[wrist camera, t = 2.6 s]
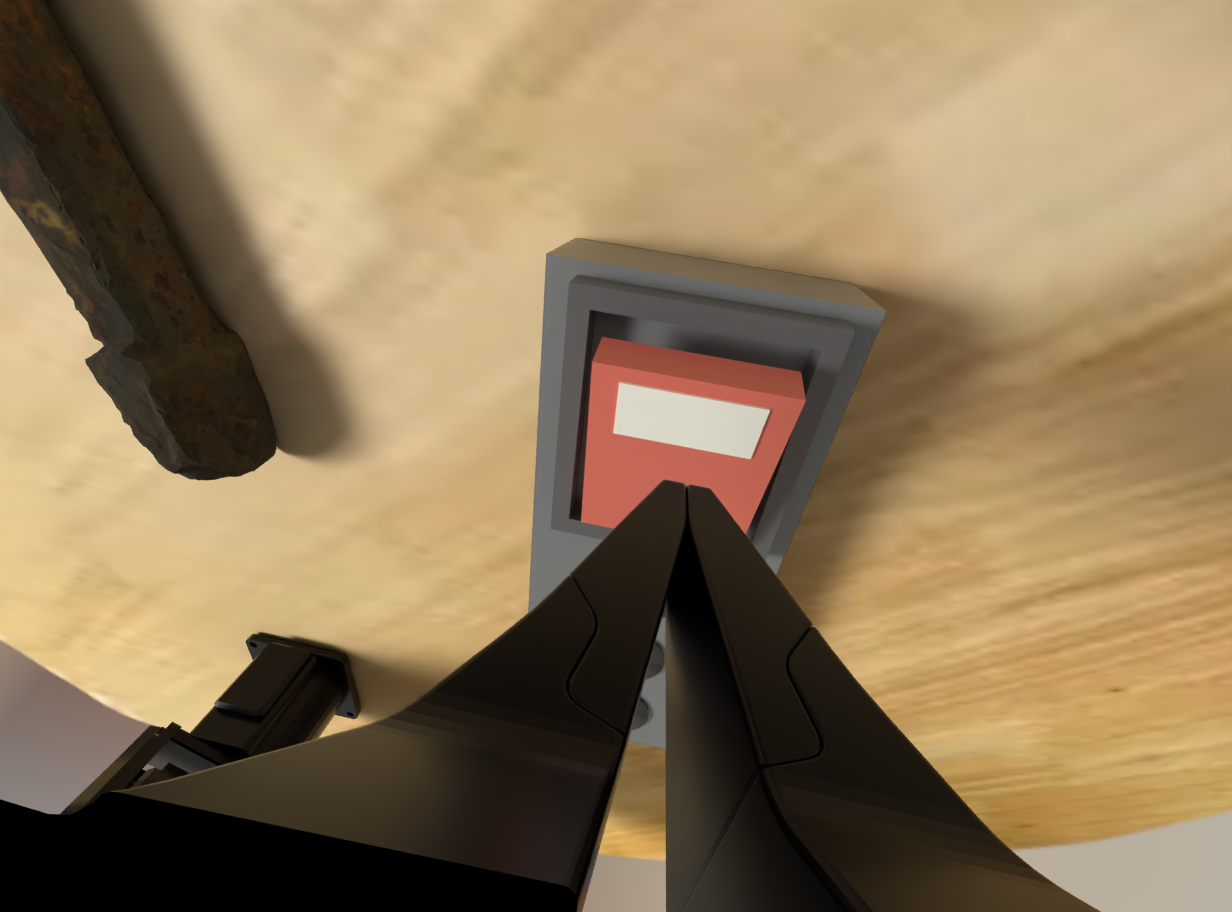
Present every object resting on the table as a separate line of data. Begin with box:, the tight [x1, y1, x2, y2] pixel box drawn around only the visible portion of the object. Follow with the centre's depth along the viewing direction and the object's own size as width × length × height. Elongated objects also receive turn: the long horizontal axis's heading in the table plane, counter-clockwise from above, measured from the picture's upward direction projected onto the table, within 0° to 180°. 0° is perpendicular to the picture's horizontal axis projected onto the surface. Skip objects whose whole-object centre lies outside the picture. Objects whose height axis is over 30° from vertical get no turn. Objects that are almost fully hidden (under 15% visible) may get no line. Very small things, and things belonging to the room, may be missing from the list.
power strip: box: [528, 238, 887, 749], centre depth 20 cm, size 22×9×4 cm, turn 172°
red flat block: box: [581, 337, 806, 534], centre depth 14 cm, size 6×5×1 cm
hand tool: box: [0, 0, 276, 480], centre depth 17 cm, size 19×4×5 cm, turn 6°
